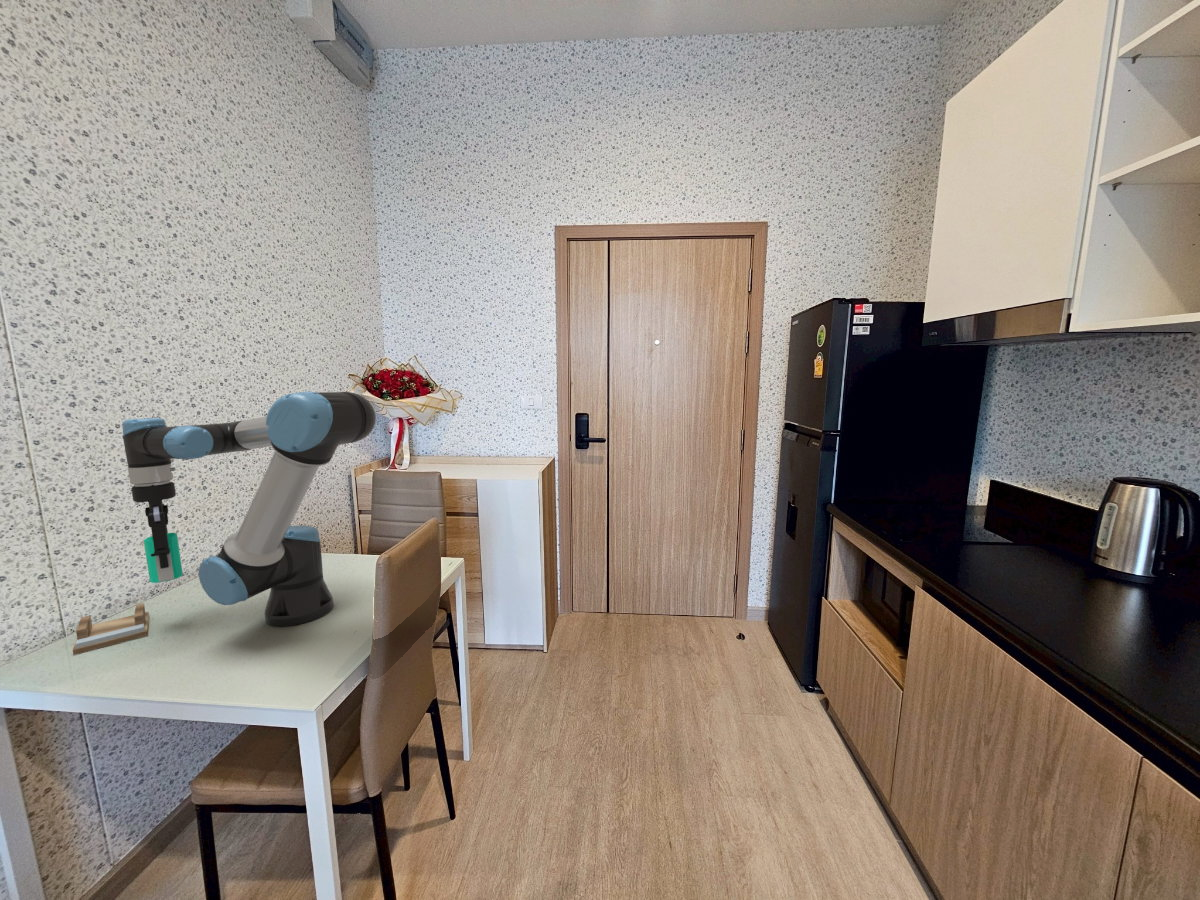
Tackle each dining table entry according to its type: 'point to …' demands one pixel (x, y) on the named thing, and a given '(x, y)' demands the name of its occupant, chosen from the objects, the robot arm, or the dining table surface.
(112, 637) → the wing slat
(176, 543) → the candle
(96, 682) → the dining table surface
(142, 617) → the jig
